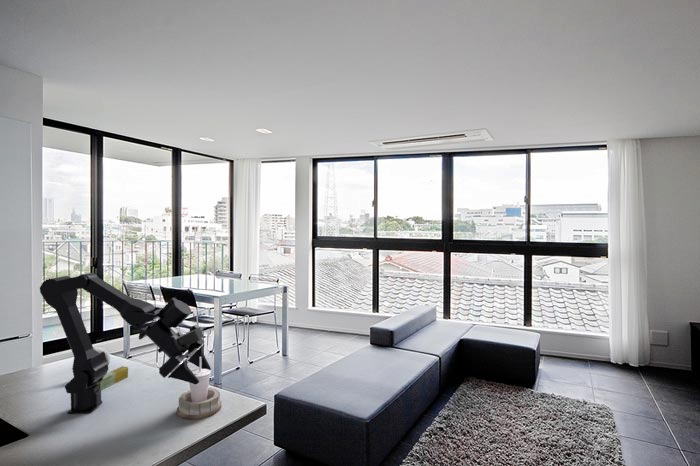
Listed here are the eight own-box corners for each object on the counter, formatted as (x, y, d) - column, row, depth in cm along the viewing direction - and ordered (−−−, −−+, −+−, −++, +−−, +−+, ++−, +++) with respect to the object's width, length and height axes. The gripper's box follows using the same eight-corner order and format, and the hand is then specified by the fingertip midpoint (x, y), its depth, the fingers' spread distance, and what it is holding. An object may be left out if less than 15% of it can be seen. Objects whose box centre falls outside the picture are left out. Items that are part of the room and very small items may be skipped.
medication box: (98, 392, 127) (99, 379, 126) (92, 391, 127) (92, 378, 127) (128, 377, 138) (128, 366, 138) (122, 376, 139) (122, 365, 139)
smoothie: (215, 401, 118) (215, 354, 117) (203, 411, 111) (203, 361, 111) (195, 400, 119) (195, 353, 118) (182, 409, 112) (182, 360, 112)
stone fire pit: (171, 420, 108) (170, 406, 108) (184, 400, 120) (184, 387, 120) (216, 418, 110) (216, 404, 110) (225, 398, 122) (224, 386, 122)
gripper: (170, 327, 105) (212, 369, 105) (197, 311, 123) (233, 346, 124) (140, 357, 105) (182, 398, 105) (172, 336, 124) (208, 371, 124)
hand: (204, 376), depth 115 cm, fingers open, 9 cm apart
